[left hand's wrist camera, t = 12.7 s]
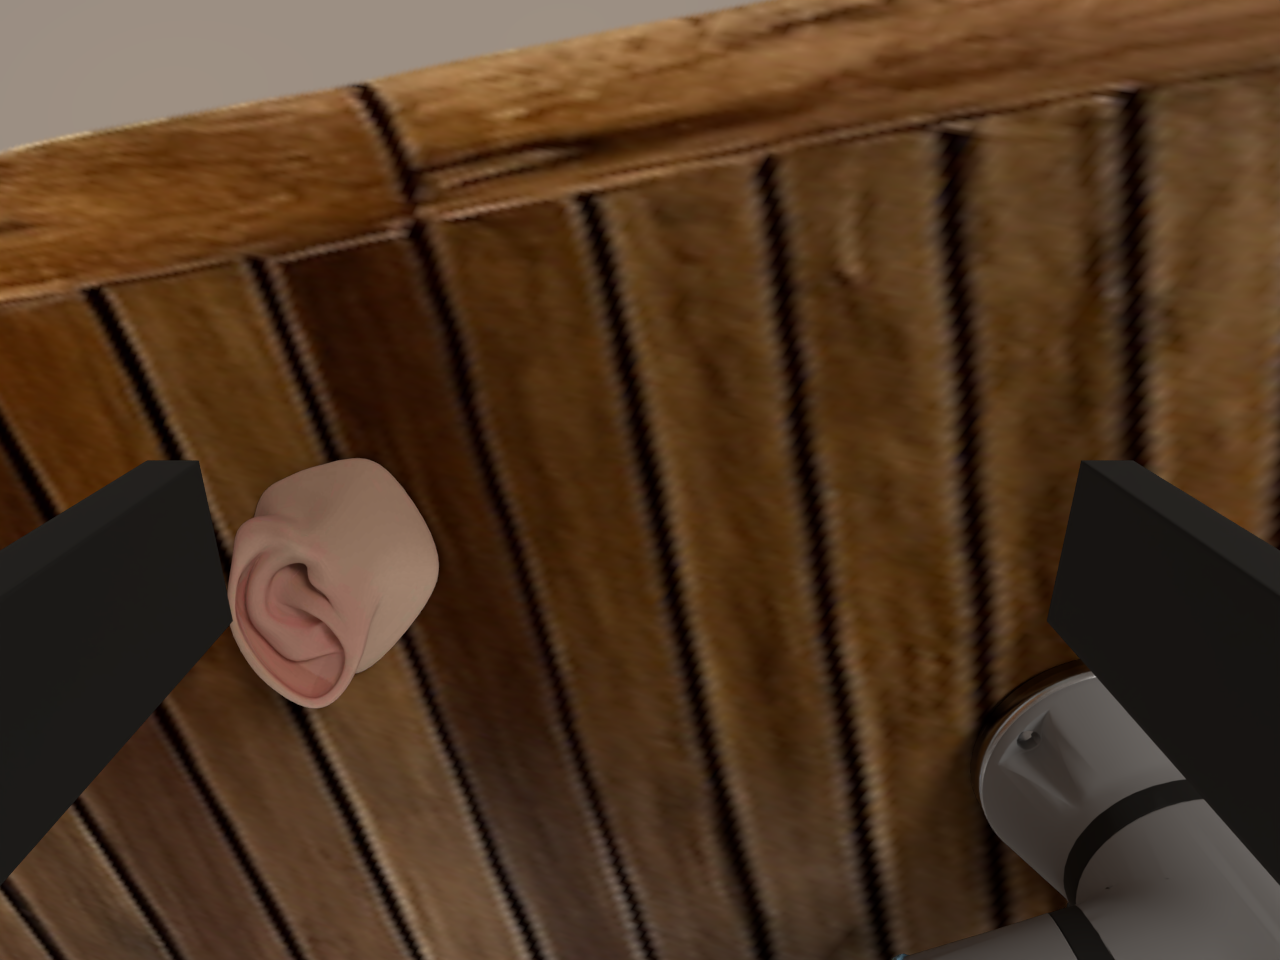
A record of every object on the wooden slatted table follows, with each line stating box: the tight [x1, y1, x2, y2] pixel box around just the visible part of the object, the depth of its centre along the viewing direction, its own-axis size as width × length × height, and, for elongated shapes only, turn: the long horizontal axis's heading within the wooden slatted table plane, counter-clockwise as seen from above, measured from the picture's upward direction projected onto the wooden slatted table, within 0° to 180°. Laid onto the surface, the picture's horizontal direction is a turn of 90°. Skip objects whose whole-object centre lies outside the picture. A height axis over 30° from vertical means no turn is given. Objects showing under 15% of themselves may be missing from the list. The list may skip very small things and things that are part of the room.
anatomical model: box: [227, 458, 439, 708], centre depth 45 cm, size 13×4×12 cm
